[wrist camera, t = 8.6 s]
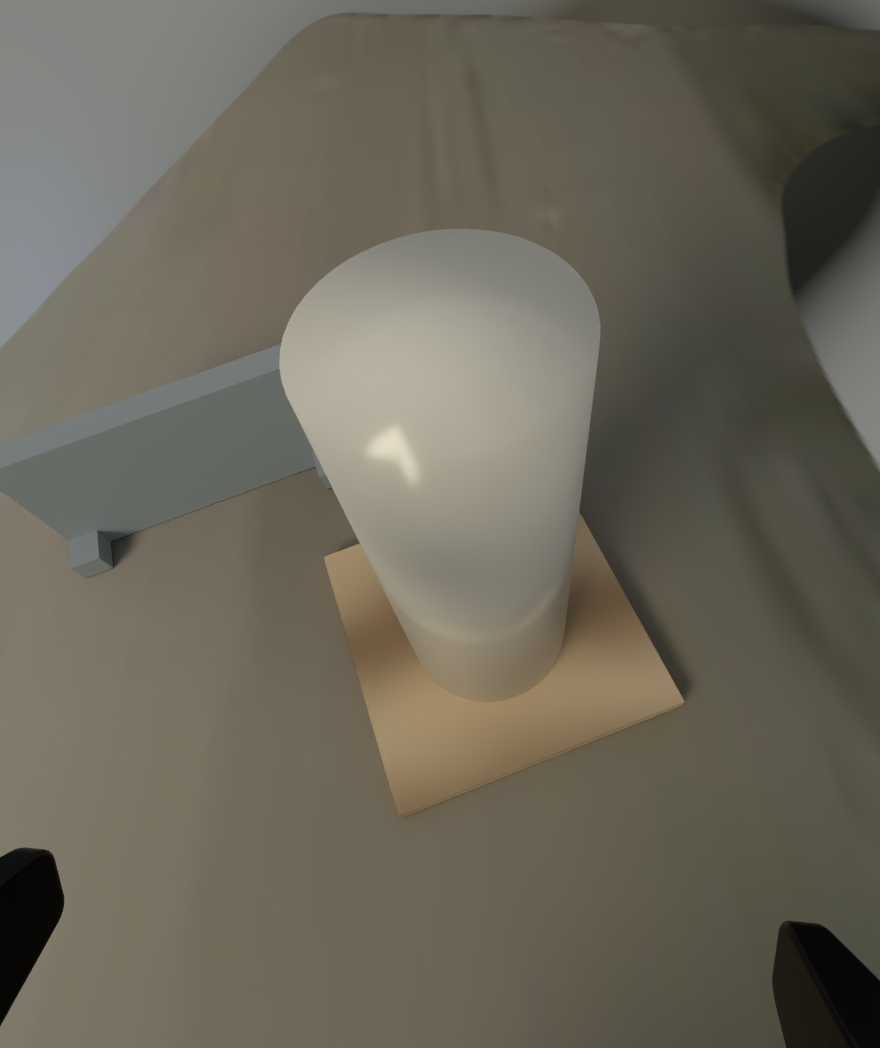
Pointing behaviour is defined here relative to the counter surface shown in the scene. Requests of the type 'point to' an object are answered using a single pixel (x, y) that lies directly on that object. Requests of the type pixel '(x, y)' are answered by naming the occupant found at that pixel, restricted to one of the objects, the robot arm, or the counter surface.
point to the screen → (158, 456)
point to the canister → (455, 439)
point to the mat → (510, 725)
